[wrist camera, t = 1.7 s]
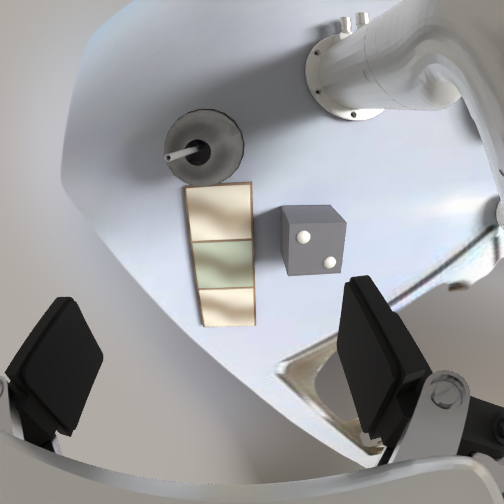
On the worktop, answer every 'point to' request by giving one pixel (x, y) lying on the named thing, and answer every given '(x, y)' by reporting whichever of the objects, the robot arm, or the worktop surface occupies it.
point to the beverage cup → (204, 147)
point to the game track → (223, 252)
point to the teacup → (500, 214)
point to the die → (312, 239)
